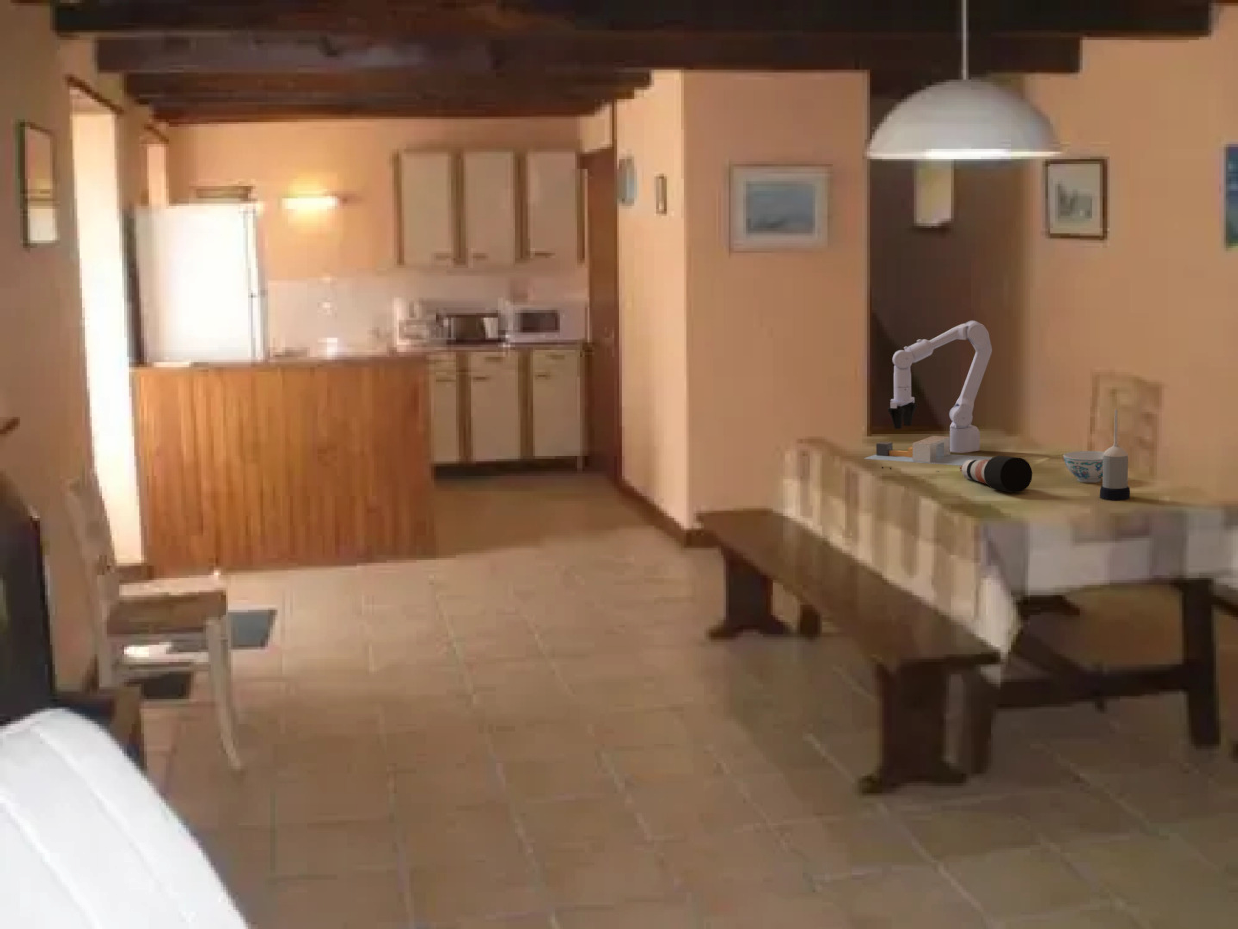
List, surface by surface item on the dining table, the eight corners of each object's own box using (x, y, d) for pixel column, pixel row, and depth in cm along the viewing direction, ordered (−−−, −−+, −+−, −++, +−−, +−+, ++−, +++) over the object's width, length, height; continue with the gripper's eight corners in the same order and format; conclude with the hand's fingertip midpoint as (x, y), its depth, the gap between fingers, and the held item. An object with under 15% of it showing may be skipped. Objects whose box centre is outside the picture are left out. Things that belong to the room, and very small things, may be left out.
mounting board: (997, 459, 504) (997, 457, 504) (975, 469, 490) (975, 466, 490) (887, 452, 527) (887, 450, 526) (863, 460, 512) (863, 458, 512)
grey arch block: (950, 454, 513) (950, 436, 511) (930, 462, 500) (929, 444, 499) (933, 453, 516) (933, 435, 515) (912, 461, 503) (912, 443, 502)
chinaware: (1052, 479, 468) (1052, 454, 467) (1092, 474, 474) (1092, 449, 473) (1085, 487, 455) (1086, 461, 453) (1126, 481, 460) (1126, 455, 459)
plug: (917, 456, 513) (917, 444, 512) (912, 457, 510) (912, 445, 509) (881, 453, 520) (881, 441, 519) (876, 455, 517) (876, 443, 516)
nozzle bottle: (1121, 494, 442) (1122, 407, 438) (1135, 499, 434) (1137, 410, 430) (1094, 496, 441) (1095, 408, 437) (1108, 501, 433) (1109, 412, 429)
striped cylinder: (970, 490, 480) (982, 459, 480) (1024, 498, 447) (1037, 465, 447) (942, 477, 478) (955, 447, 478) (994, 484, 444) (1008, 451, 445)
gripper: (900, 383, 525) (901, 423, 527) (881, 388, 514) (882, 429, 516) (920, 384, 521) (920, 424, 523) (901, 389, 509) (901, 430, 512)
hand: (902, 426), depth 519 cm, fingers open, 7 cm apart
